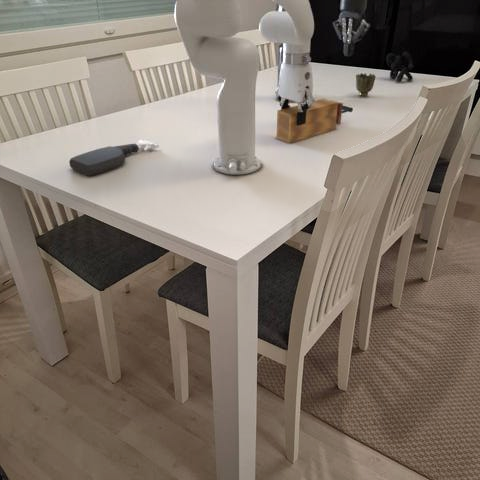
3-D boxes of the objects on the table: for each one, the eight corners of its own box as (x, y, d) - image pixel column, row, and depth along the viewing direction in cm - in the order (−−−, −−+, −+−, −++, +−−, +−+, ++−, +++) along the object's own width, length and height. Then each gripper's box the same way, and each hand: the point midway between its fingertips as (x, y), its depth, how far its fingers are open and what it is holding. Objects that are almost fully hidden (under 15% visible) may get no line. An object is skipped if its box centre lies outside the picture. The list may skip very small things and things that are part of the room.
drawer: (341, 117, 152) (343, 97, 148) (352, 120, 149) (354, 100, 145) (288, 132, 139) (288, 111, 136) (299, 136, 136) (300, 114, 132)
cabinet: (321, 124, 148) (323, 98, 144) (335, 129, 144) (338, 102, 140) (276, 138, 138) (277, 110, 133) (290, 143, 134) (291, 114, 129)
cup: (351, 97, 177) (353, 76, 172) (356, 92, 182) (358, 72, 178) (370, 99, 174) (373, 77, 169) (374, 94, 179) (377, 73, 175)
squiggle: (400, 92, 202) (376, 71, 205) (417, 76, 202) (392, 56, 205) (405, 81, 191) (380, 59, 194) (423, 64, 191) (397, 42, 194)
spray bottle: (67, 168, 120) (139, 144, 136) (91, 178, 114) (163, 151, 130) (65, 157, 118) (137, 134, 134) (89, 167, 112) (162, 142, 128)
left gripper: (328, 61, 122) (322, 126, 131) (284, 53, 133) (282, 113, 143) (308, 65, 118) (304, 131, 127) (265, 56, 129) (265, 117, 139)
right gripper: (381, -8, 127) (373, 57, 136) (345, -10, 135) (339, 51, 145) (364, -7, 123) (357, 60, 132) (328, -9, 132) (323, 54, 141)
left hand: (293, 121), depth 135 cm, fingers closed on cabinet, 6 cm apart
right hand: (347, 55), depth 138 cm, fingers closed
